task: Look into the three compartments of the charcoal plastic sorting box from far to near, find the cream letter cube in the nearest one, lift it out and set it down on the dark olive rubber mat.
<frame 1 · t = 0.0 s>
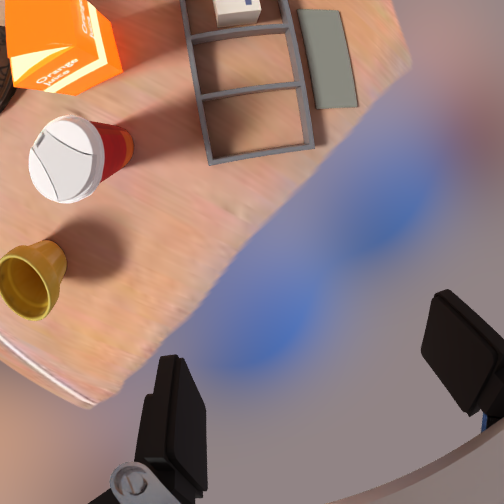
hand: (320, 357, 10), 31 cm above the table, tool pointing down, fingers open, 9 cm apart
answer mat: (327, 56, 32), on the table
letter cube: (234, 10, 29), resting in sorting box
sorting box: (244, 62, 32), on the table
coffee cup: (114, 148, 34), on the table
orange juice: (92, 58, 29), on the table
plant pot: (51, 259, 39), on the table
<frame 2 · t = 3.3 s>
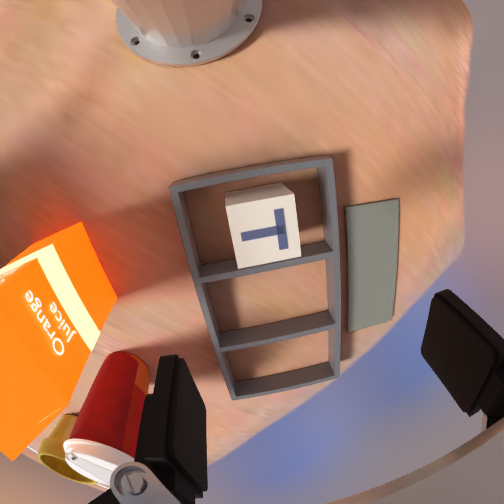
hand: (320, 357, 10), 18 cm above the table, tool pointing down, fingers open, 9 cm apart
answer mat: (372, 270, 30), on the table
letter cube: (257, 214, 27), resting in sorting box
sorting box: (270, 292, 30), on the table
coffee cup: (127, 368, 32), on the table
orange juice: (72, 270, 27), on the table
plant pot: (80, 424, 37), on the table
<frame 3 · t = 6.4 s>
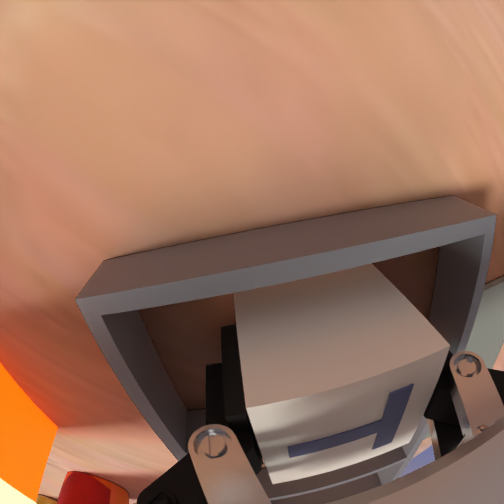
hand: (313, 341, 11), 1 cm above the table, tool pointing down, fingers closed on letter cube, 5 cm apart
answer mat: (466, 372, 15), on the table
letter cube: (308, 330, 11), resting in sorting box, touching gripper
sorting box: (313, 432, 14), on the table
coffee cup: (98, 484, 17), on the table
plant pot: (58, 503, 22), on the table
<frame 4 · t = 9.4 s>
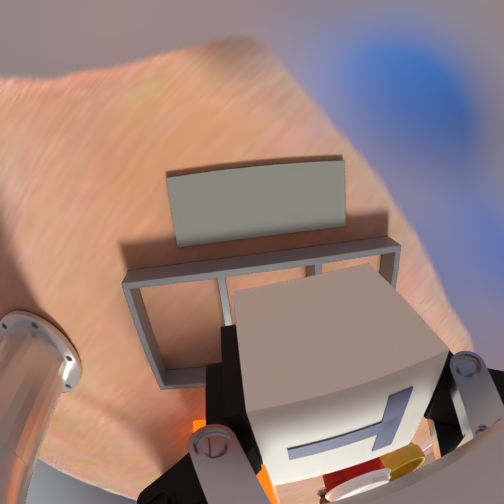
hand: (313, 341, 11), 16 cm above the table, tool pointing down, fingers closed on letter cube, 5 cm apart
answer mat: (261, 201, 25), on the table
letter cube: (308, 332, 11), point 15 cm above the table, touching gripper
tin: (328, 497, 57), on the table
sorting box: (269, 313, 29), on the table
coffee cup: (327, 407, 37), on the table
orange juice: (230, 428, 36), on the table
plant pot: (382, 435, 45), on the table
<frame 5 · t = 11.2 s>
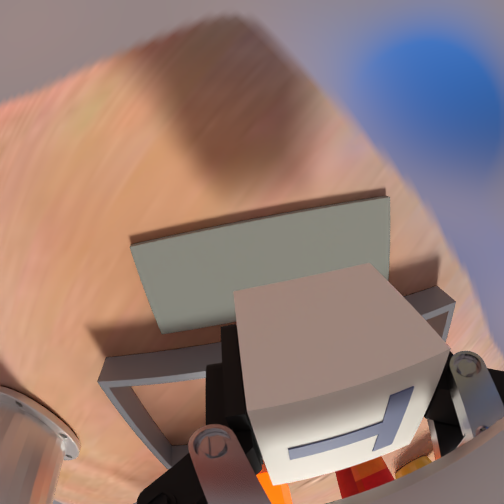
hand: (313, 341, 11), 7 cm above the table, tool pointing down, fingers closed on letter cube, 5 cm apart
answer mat: (272, 266, 17), on the table
letter cube: (309, 332, 11), point 6 cm above the table, touching gripper
sorting box: (289, 391, 22), on the table
coffee cup: (355, 456, 29), on the table
orange juice: (250, 484, 29), on the table
plant pot: (411, 464, 36), on the table
when the fingers open (2 cm above the table, at t = 12.6 s): letter cube stays where it is, resting on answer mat.
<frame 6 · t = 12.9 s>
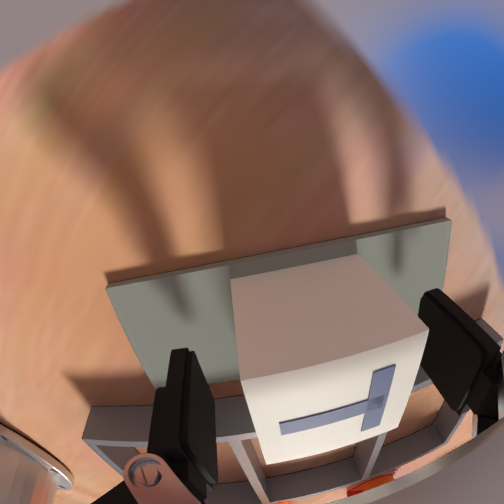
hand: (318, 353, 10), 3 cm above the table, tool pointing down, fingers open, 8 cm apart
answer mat: (300, 311, 12), on the table
letter cube: (301, 319, 12), resting on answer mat
sorting box: (309, 439, 17), on the table
coffee cup: (370, 484, 25), on the table
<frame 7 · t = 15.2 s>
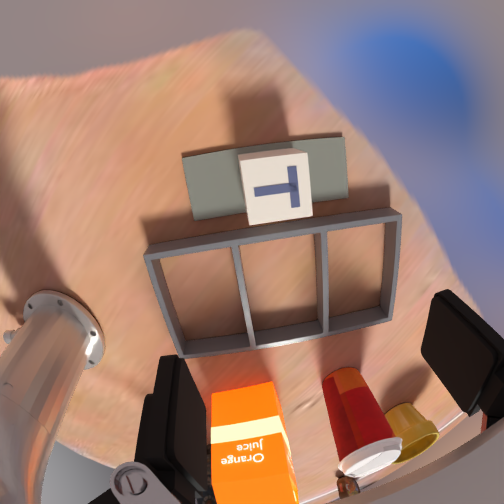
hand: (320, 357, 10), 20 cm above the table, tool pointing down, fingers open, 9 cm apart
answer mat: (269, 176, 27), on the table
letter cube: (269, 177, 26), resting on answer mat
tin: (345, 479, 60), on the table
sorting box: (281, 282, 31), on the table
coffee cup: (341, 379, 39), on the table
orange juice: (248, 401, 40), on the table
dark ornate vase: (231, 455, 47), on the table
plant pot: (396, 411, 46), on the table
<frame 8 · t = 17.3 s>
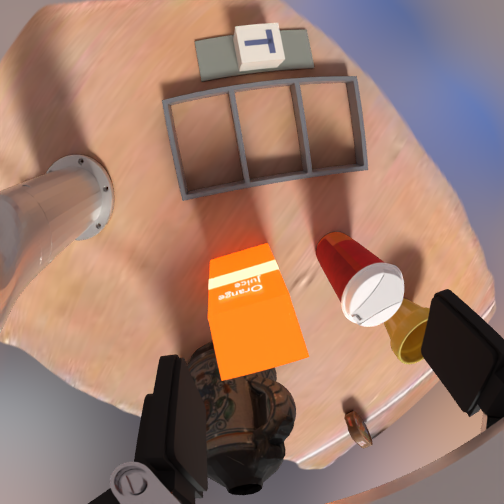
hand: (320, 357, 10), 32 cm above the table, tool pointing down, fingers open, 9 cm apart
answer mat: (255, 52, 32), on the table
letter cube: (255, 52, 32), resting on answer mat
tin: (353, 418, 65), on the table
sorting box: (269, 131, 37), on the table
coffee cup: (334, 249, 45), on the table
orange juice: (245, 272, 45), on the table
dark ornate vase: (230, 363, 52), on the table
plant pot: (396, 311, 52), on the table
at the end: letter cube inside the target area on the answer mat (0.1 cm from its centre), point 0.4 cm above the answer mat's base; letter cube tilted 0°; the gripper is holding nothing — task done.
